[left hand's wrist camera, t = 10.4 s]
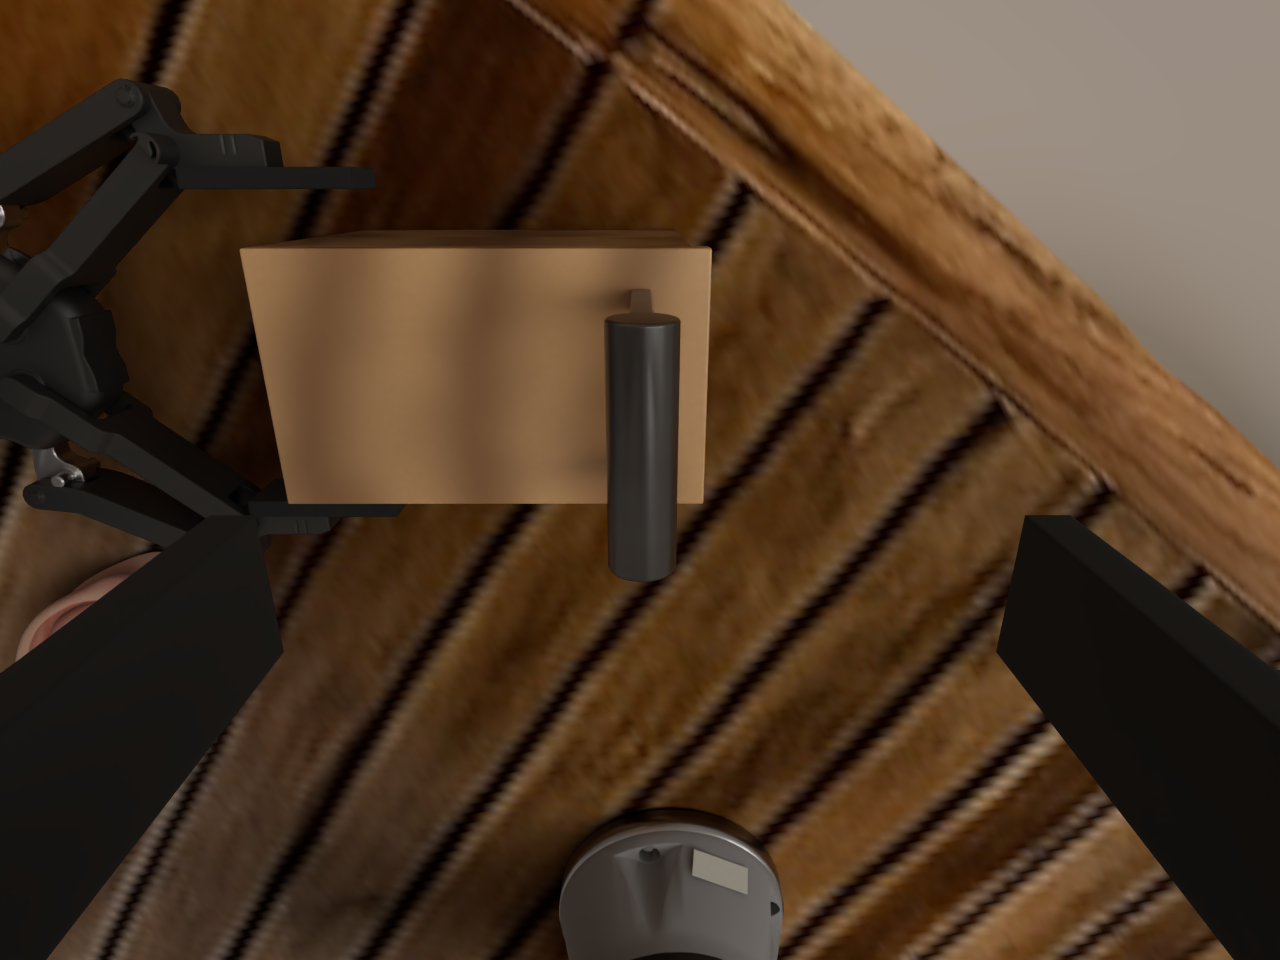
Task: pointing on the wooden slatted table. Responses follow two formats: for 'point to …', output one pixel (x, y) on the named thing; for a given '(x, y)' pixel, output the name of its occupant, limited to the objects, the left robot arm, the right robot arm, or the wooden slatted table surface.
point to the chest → (491, 238)
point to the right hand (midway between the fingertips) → (387, 350)
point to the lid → (492, 379)
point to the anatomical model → (77, 602)
